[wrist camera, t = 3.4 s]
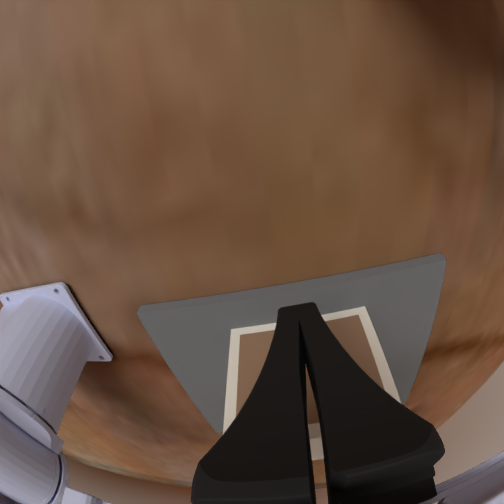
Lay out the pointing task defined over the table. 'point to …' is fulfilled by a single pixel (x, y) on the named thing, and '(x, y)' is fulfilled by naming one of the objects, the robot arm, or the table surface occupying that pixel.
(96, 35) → the table surface
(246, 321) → the rubber mat
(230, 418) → the cream slab
